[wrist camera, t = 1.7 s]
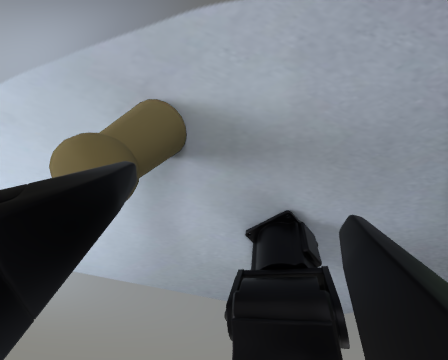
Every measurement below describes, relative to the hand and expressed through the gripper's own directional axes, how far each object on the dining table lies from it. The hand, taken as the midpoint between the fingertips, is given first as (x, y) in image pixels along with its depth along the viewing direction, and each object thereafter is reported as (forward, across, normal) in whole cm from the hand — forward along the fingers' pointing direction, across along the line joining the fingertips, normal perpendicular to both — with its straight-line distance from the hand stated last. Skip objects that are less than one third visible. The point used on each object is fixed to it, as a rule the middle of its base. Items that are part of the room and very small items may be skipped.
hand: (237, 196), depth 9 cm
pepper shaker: (+13, +9, +3) cm, 16 cm away
